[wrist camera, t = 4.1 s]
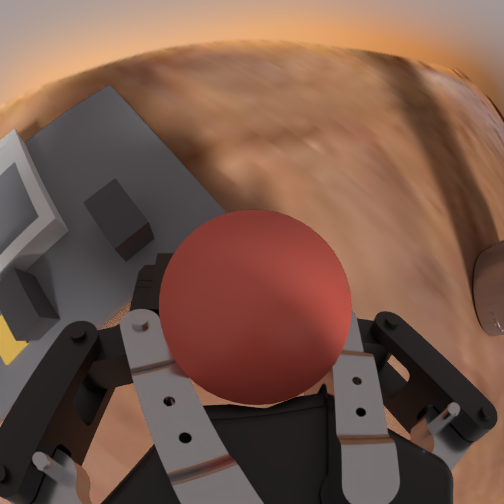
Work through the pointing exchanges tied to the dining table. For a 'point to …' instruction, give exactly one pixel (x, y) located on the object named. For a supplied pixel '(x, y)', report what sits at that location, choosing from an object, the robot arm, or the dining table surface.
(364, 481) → the robot arm
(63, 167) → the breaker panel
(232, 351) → the cap
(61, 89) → the dining table surface
